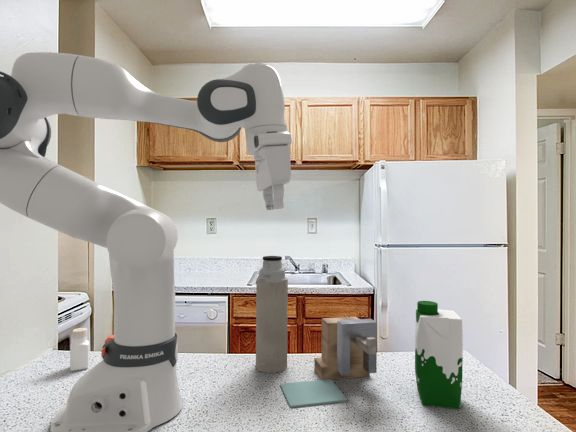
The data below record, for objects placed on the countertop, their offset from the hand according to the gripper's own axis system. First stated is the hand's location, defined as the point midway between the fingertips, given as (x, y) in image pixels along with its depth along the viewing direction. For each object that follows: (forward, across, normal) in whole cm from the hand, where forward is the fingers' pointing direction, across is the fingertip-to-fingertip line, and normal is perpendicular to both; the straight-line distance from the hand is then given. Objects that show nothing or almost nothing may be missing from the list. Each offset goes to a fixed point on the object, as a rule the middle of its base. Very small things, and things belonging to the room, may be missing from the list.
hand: (274, 209), depth 77 cm
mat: (+40, 0, +4) cm, 40 cm away
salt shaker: (+34, -25, -49) cm, 65 cm away
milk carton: (+43, +8, +29) cm, 53 cm away
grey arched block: (+37, 0, +14) cm, 40 cm away
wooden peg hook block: (+41, -2, +14) cm, 44 cm away
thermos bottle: (+40, -16, -2) cm, 43 cm away
